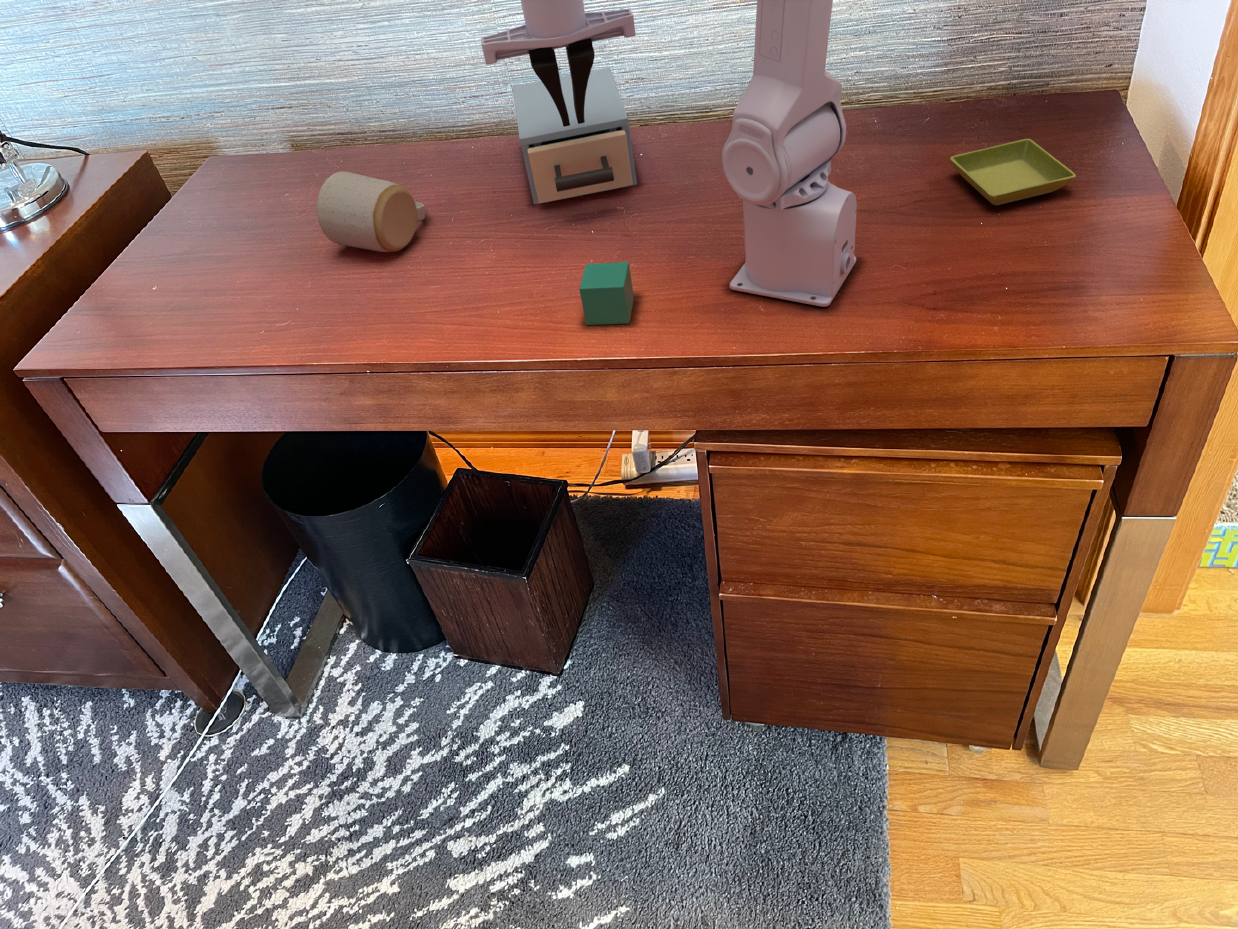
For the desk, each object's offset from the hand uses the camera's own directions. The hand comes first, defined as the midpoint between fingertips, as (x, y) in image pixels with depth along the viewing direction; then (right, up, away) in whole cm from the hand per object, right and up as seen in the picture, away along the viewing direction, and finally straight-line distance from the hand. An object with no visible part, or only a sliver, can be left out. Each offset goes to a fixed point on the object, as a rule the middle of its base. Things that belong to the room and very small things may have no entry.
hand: (573, 120), depth 91 cm
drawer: (0, -2, +10) cm, 10 cm away
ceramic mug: (-21, -10, +8) cm, 24 cm away
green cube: (+4, -21, -8) cm, 23 cm away
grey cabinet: (0, 0, +13) cm, 13 cm away
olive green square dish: (+43, -7, -2) cm, 44 cm away
